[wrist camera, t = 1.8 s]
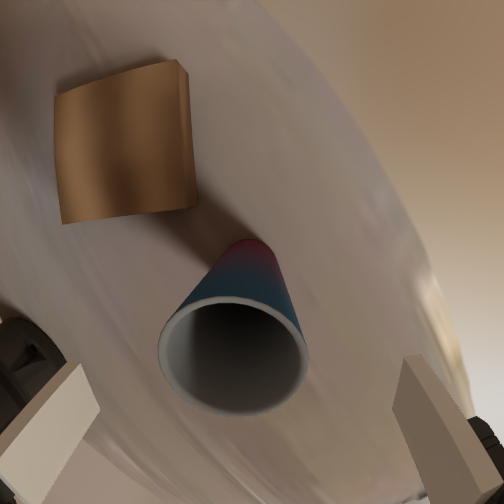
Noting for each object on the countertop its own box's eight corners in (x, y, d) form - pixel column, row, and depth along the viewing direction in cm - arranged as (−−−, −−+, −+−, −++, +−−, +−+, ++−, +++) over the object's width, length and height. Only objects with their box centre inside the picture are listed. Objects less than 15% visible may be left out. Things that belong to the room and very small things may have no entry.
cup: (266, 312, 28) (265, 432, 14) (200, 282, 28) (141, 383, 13) (300, 249, 27) (338, 335, 12) (230, 216, 26) (187, 267, 12)
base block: (85, 217, 27) (62, 224, 23) (77, 103, 24) (54, 96, 20) (198, 203, 26) (186, 208, 22) (188, 74, 23) (176, 59, 19)
